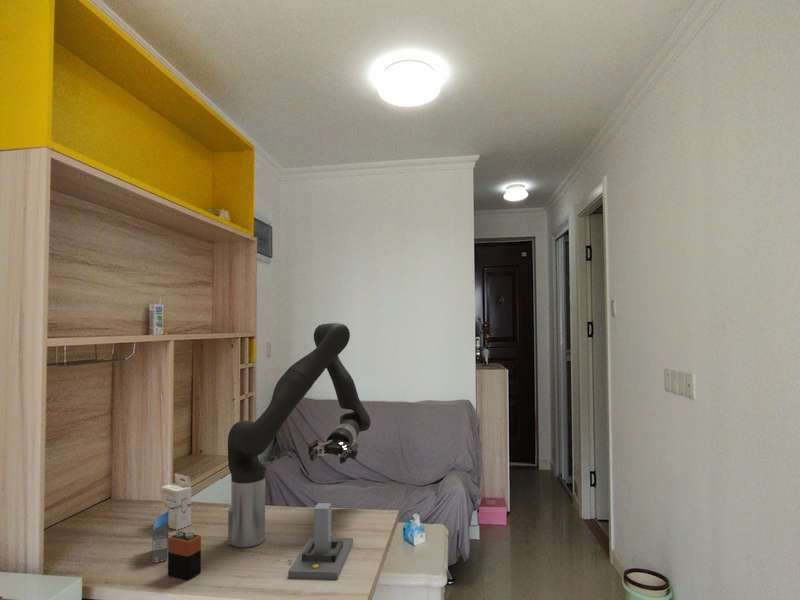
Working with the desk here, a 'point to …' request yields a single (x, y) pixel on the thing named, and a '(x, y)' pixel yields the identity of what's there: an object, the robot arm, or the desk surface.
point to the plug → (322, 528)
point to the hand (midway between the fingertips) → (326, 459)
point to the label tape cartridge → (160, 537)
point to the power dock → (321, 560)
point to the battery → (184, 555)
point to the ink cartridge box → (177, 502)
